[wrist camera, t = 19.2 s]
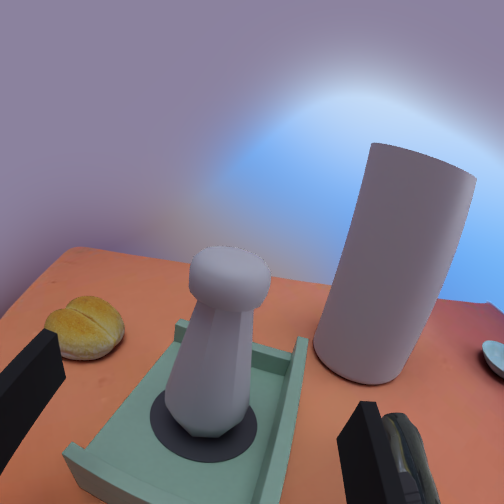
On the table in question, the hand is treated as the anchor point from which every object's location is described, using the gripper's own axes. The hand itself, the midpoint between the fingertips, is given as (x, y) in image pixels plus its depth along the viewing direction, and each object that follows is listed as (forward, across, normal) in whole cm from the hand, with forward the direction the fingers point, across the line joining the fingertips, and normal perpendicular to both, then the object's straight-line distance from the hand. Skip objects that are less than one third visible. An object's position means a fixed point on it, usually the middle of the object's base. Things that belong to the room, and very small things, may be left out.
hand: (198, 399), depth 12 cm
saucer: (+21, +46, -12) cm, 53 cm away
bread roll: (+15, -14, -12) cm, 24 cm away
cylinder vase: (+22, +17, -12) cm, 31 cm away
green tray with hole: (+6, 0, -12) cm, 14 cm away
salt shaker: (+6, 0, -9) cm, 11 cm away
